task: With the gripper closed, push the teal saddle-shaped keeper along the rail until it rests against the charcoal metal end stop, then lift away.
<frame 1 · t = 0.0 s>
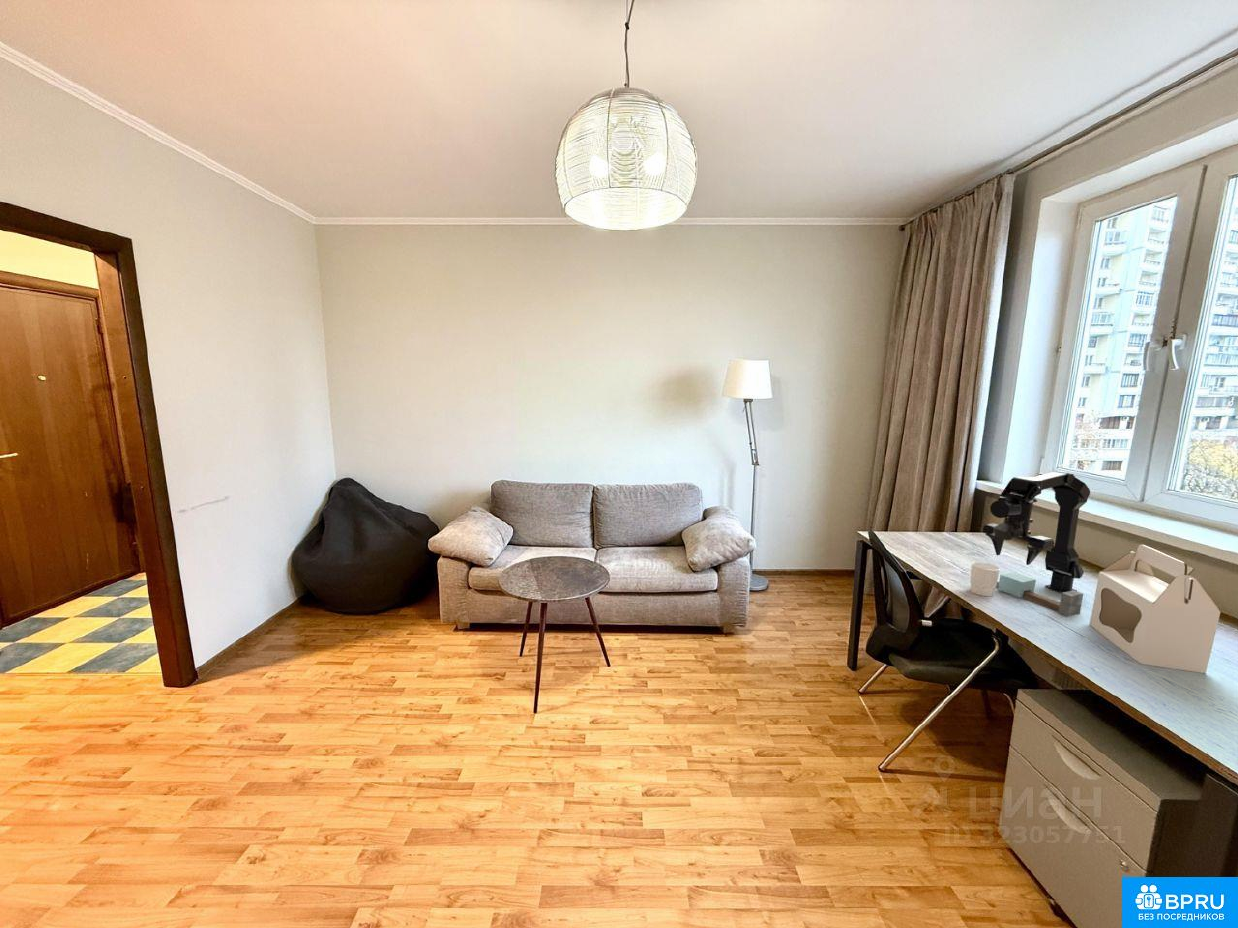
hand: (1012, 559, 158), 15 cm above the table, fingers open, 9 cm apart
rail: (1024, 596, 163), on the table
keeper: (1016, 584, 166), point 3 cm above the table, slide at 0.0 cm
gable box: (1142, 647, 132), on the table
white cup: (981, 592, 167), on the table
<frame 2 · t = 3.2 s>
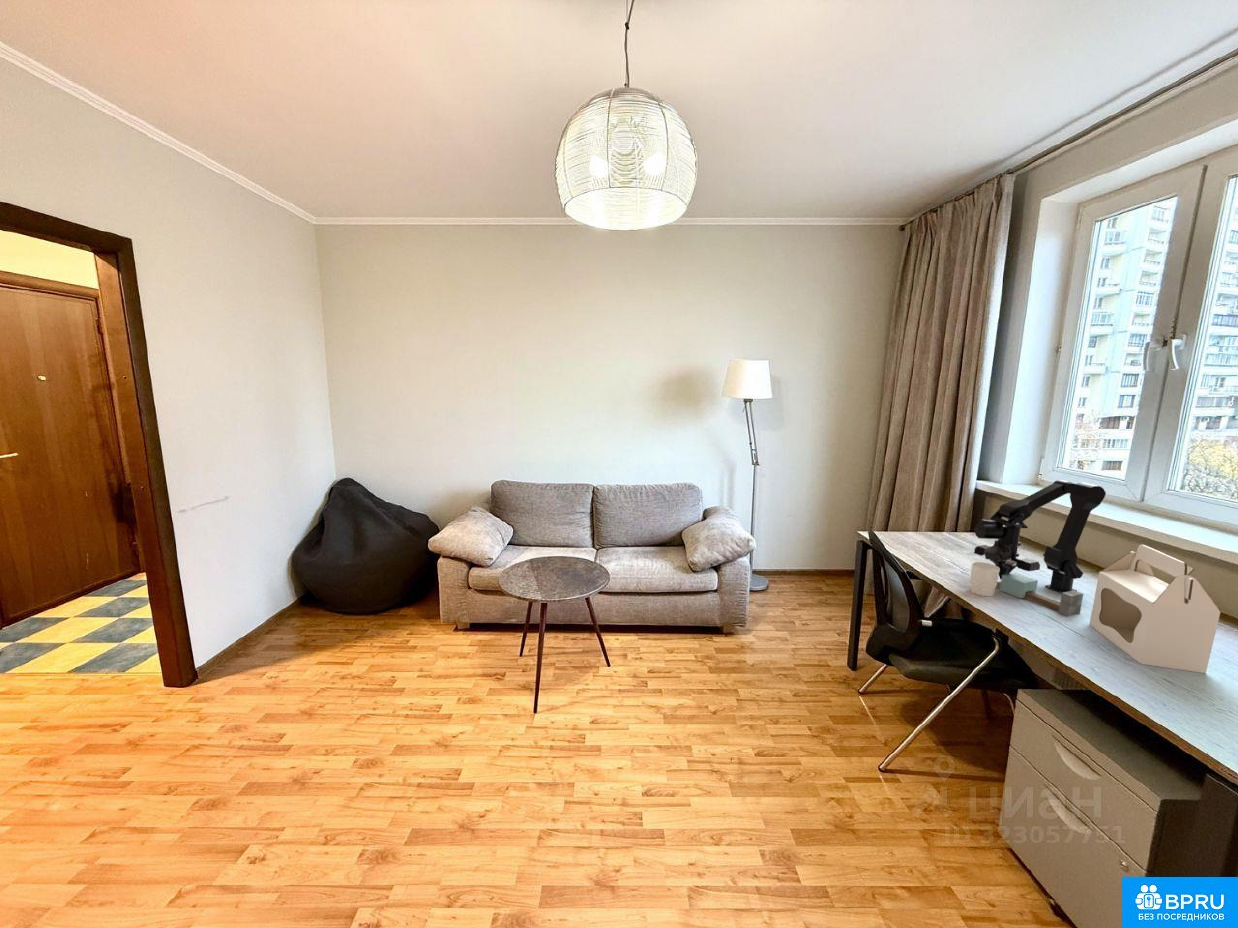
hand: (1002, 579, 170), 3 cm above the table, fingers closed
keeper: (1018, 585, 165), point 3 cm above the table, slide at 0.6 cm, touching gripper
everything else where it was.
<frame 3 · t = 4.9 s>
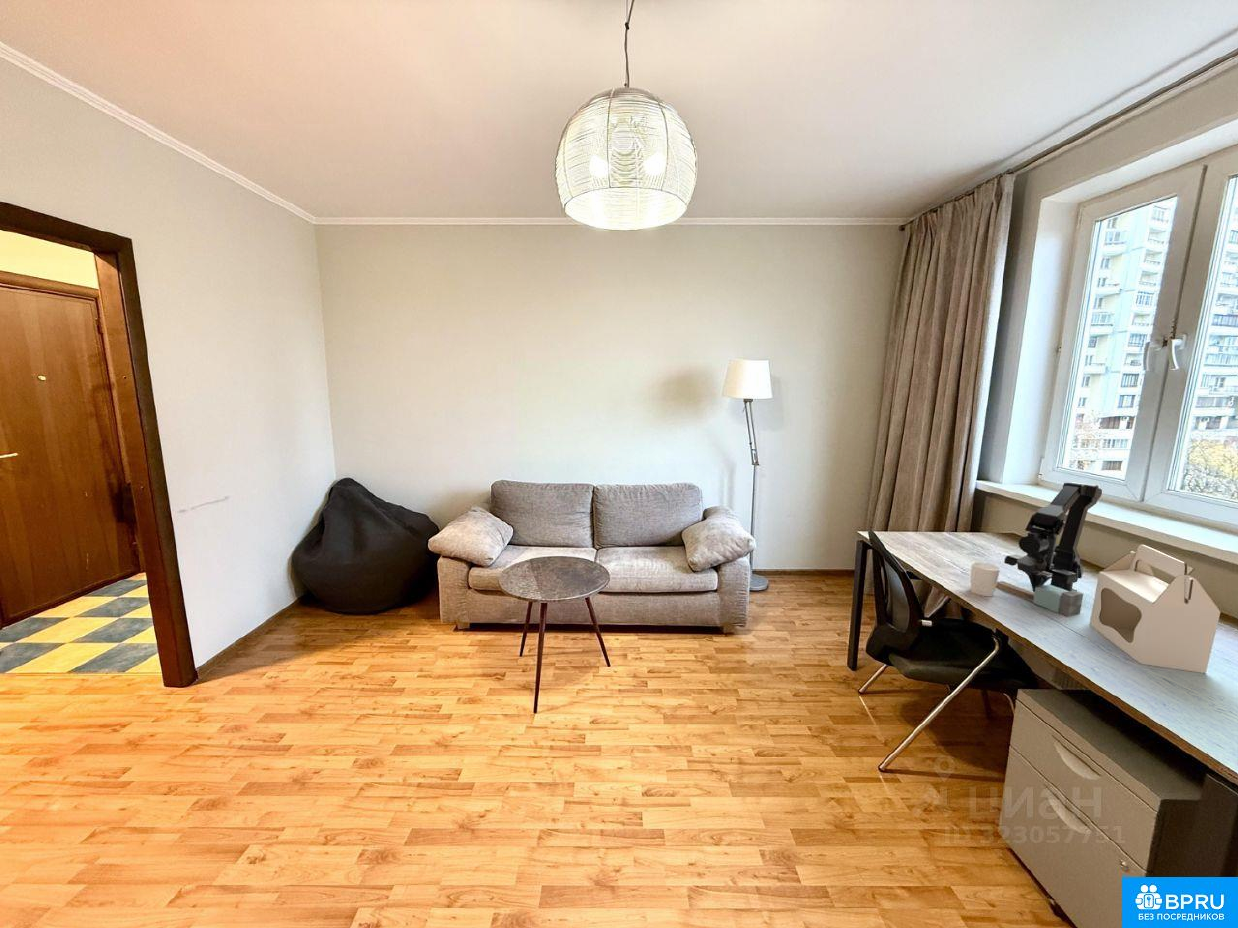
hand: (1035, 591, 160), 3 cm above the table, fingers closed
keeper: (1053, 597, 155), point 3 cm above the table, slide at 11.0 cm, touching gripper, rail
everything else where it was.
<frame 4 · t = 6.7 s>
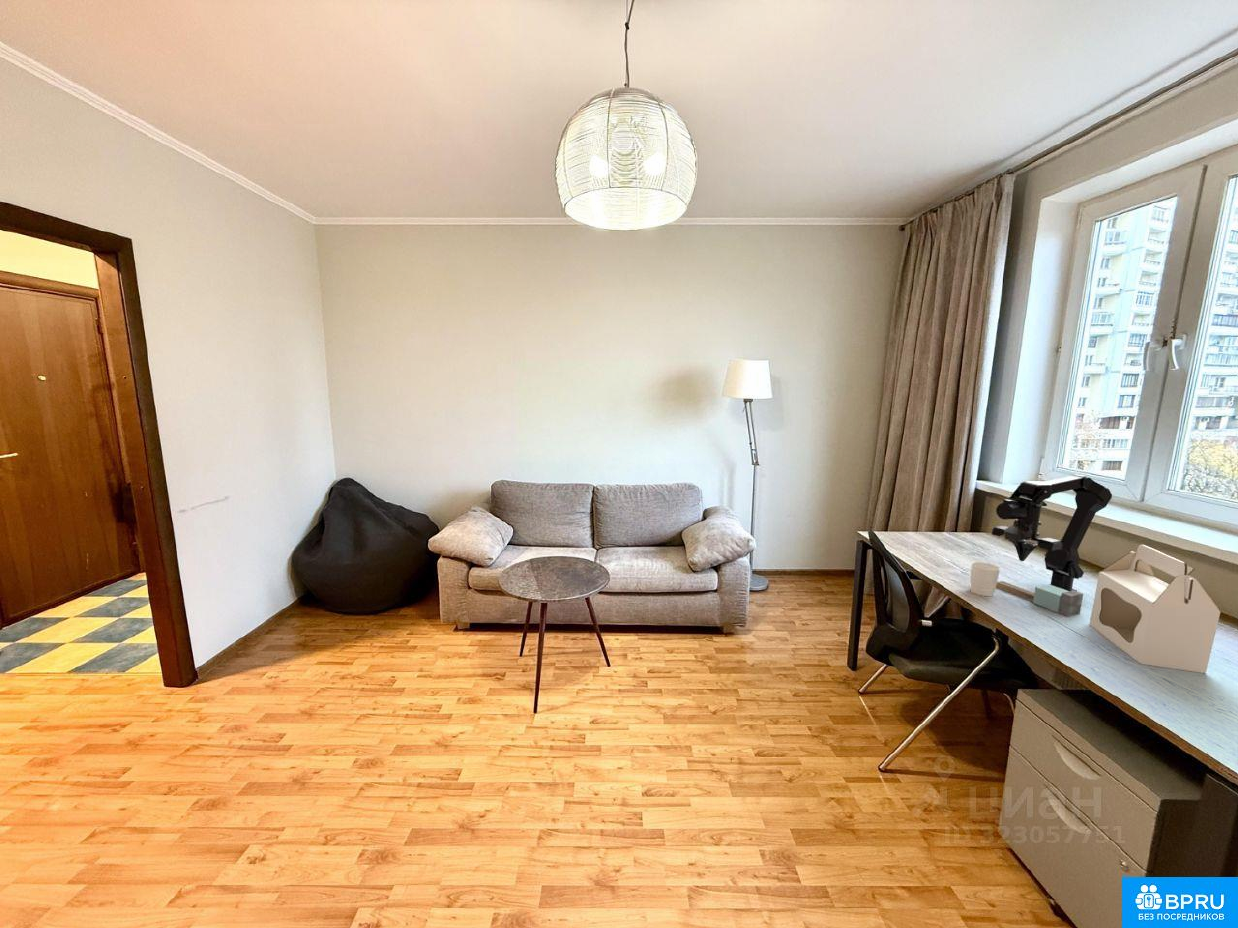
hand: (1021, 560, 165), 12 cm above the table, fingers closed
keeper: (1053, 597, 155), point 3 cm above the table, slide at 11.0 cm, touching rail
everything else where it was.
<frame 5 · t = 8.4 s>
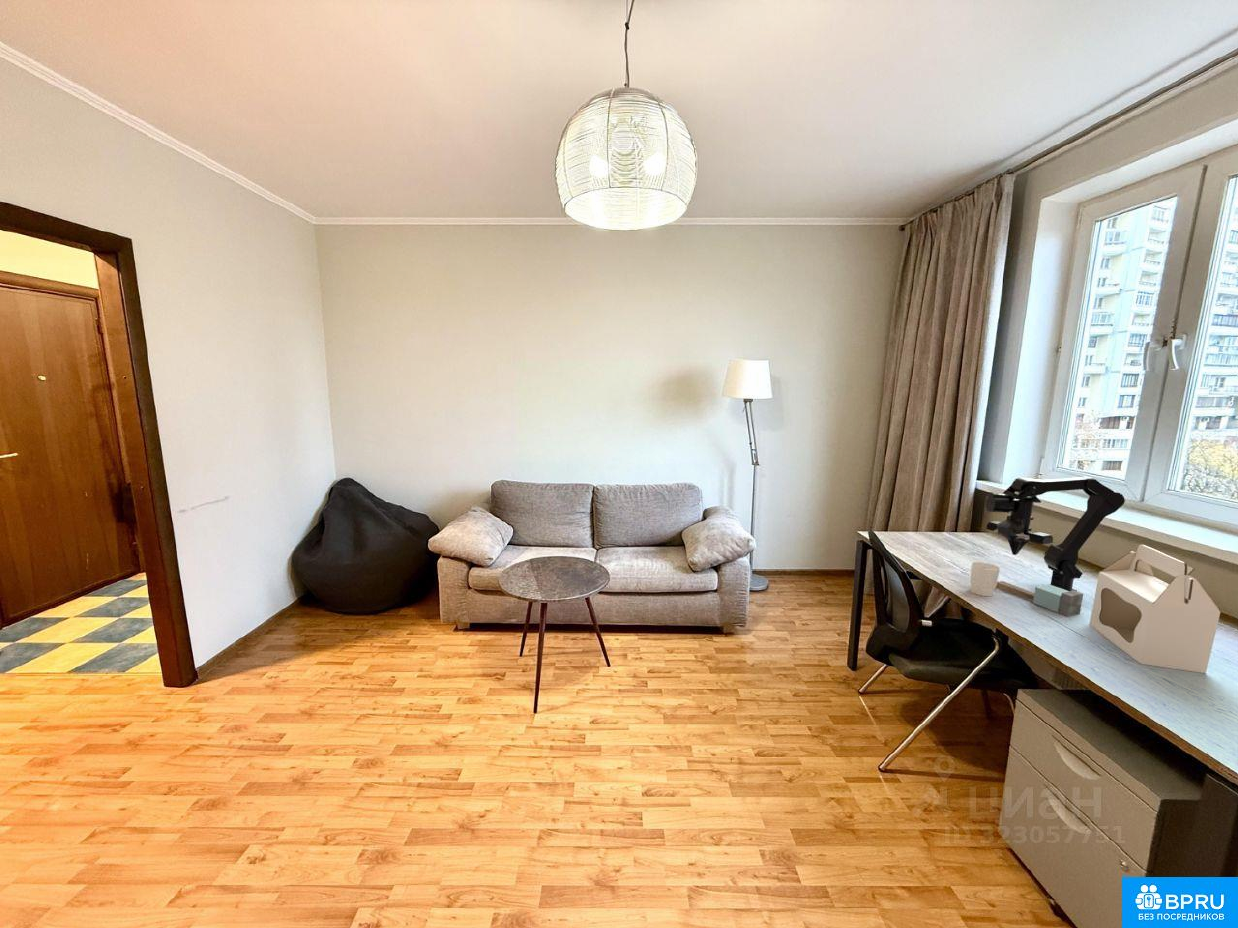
hand: (1014, 554, 170), 12 cm above the table, fingers closed
nothing on the table moved.
at the end: keeper slide at 11.0 cm; the gripper is holding nothing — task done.
